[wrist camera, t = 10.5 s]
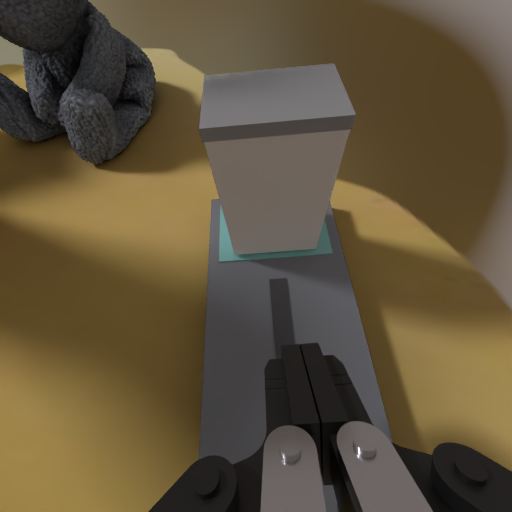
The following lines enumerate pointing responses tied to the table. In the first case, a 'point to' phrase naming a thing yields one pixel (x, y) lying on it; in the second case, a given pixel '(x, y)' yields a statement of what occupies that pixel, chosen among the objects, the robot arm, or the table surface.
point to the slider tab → (275, 152)
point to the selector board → (274, 334)
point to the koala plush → (74, 78)
